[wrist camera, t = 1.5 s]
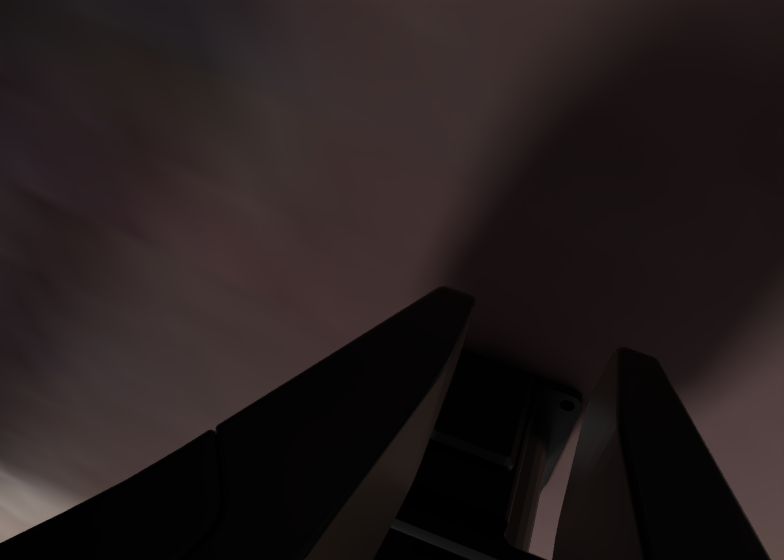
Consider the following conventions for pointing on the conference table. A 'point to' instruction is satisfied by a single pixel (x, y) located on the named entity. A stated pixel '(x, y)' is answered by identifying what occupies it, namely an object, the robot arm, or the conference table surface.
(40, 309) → the conference table surface
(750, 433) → the conference table surface
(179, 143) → the conference table surface
